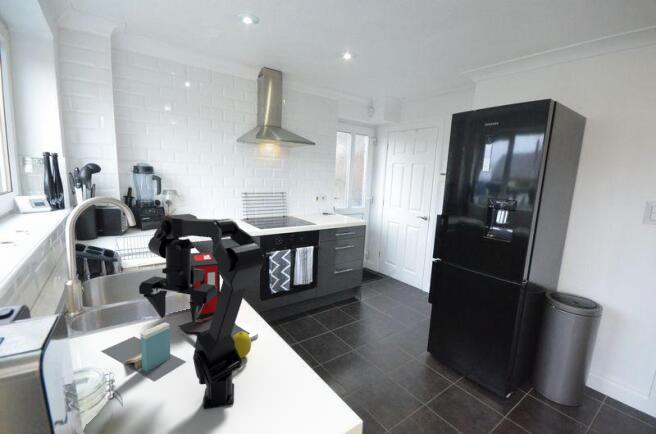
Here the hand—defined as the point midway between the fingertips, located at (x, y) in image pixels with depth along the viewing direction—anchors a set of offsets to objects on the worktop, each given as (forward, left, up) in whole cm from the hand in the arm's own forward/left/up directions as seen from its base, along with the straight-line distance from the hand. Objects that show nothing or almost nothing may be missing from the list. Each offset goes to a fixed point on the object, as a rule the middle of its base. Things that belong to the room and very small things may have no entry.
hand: (178, 319), depth 78 cm
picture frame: (+14, -9, -14) cm, 21 cm away
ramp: (+5, +9, -13) cm, 17 cm away
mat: (+6, +10, -13) cm, 17 cm away
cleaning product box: (+34, -3, -13) cm, 36 cm away
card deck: (+1, +6, -13) cm, 14 cm away
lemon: (0, -16, -13) cm, 21 cm away
